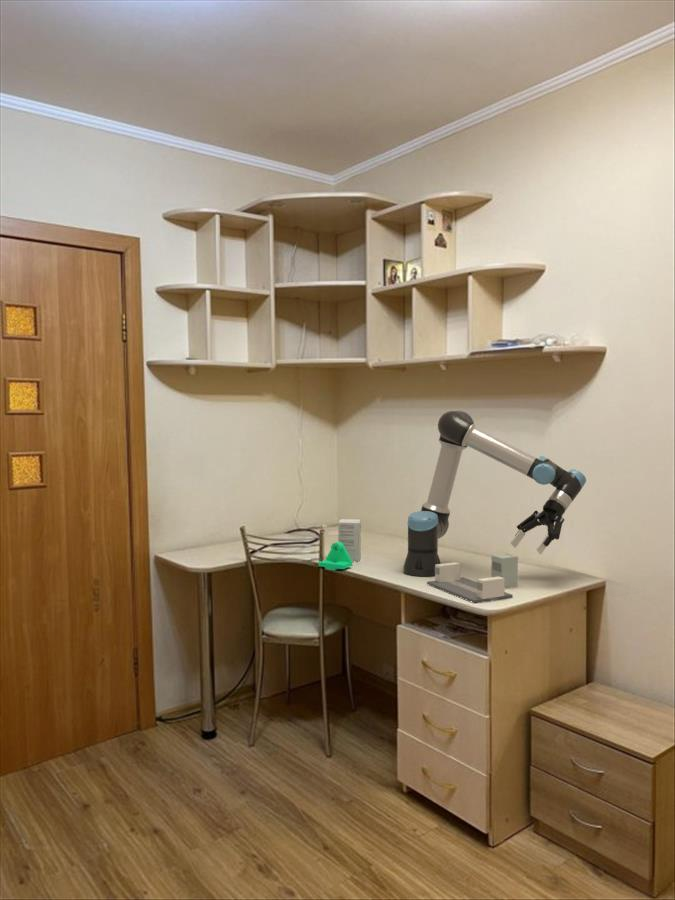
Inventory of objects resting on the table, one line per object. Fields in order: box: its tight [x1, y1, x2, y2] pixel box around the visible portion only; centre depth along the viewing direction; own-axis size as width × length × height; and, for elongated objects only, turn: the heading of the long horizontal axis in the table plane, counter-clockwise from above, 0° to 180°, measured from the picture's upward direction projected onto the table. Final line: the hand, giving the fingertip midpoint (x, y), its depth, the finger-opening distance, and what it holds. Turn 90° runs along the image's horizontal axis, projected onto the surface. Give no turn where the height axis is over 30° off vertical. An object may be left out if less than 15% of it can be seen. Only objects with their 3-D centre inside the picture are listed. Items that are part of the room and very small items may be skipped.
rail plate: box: [426, 562, 514, 604], centre depth 241 cm, size 28×16×7 cm, turn 26°
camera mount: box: [317, 541, 353, 571], centre depth 278 cm, size 12×8×10 cm, turn 59°
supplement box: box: [337, 518, 362, 562], centre depth 293 cm, size 10×9×17 cm
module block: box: [490, 553, 519, 589], centre depth 248 cm, size 6×7×11 cm
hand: (525, 548), depth 251 cm, fingers open, 13 cm apart
